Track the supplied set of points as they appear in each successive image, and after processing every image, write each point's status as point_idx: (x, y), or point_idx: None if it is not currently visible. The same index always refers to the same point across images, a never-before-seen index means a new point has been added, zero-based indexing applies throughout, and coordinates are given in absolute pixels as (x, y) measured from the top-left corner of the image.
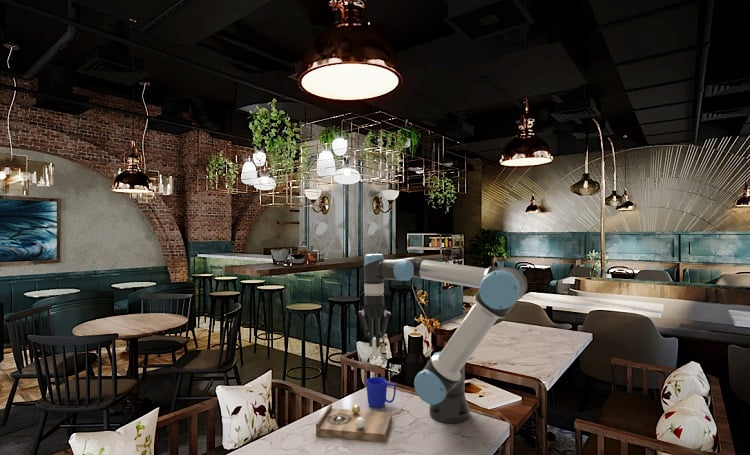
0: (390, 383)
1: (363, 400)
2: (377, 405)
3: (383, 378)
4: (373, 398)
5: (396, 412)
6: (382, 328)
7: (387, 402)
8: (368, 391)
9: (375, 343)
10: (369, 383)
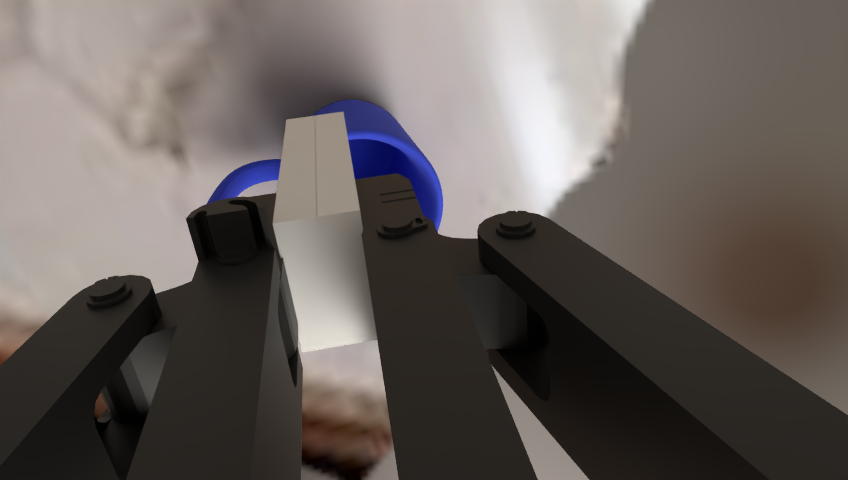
0: None
1: (453, 190)
2: (327, 105)
3: None
4: (354, 108)
5: (191, 93)
6: (10, 440)
7: (276, 160)
8: (400, 129)
9: (286, 188)
10: (396, 140)
